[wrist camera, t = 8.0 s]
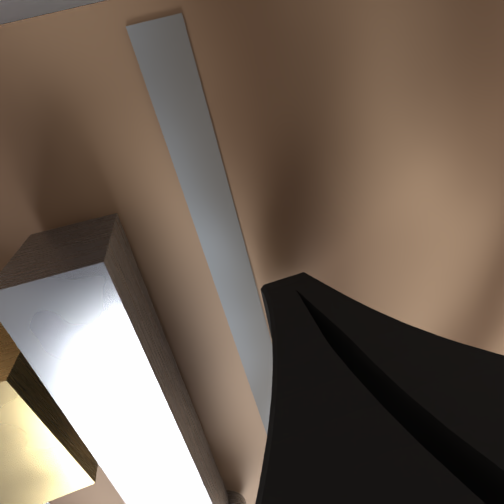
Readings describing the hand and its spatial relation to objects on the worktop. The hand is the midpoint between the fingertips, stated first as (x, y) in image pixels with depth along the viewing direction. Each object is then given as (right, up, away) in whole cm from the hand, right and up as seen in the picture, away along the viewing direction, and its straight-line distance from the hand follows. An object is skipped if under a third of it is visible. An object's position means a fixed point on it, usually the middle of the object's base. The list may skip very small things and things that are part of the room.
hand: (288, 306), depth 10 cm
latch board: (+1, -2, +4) cm, 5 cm away
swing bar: (-4, -5, +2) cm, 6 cm away
